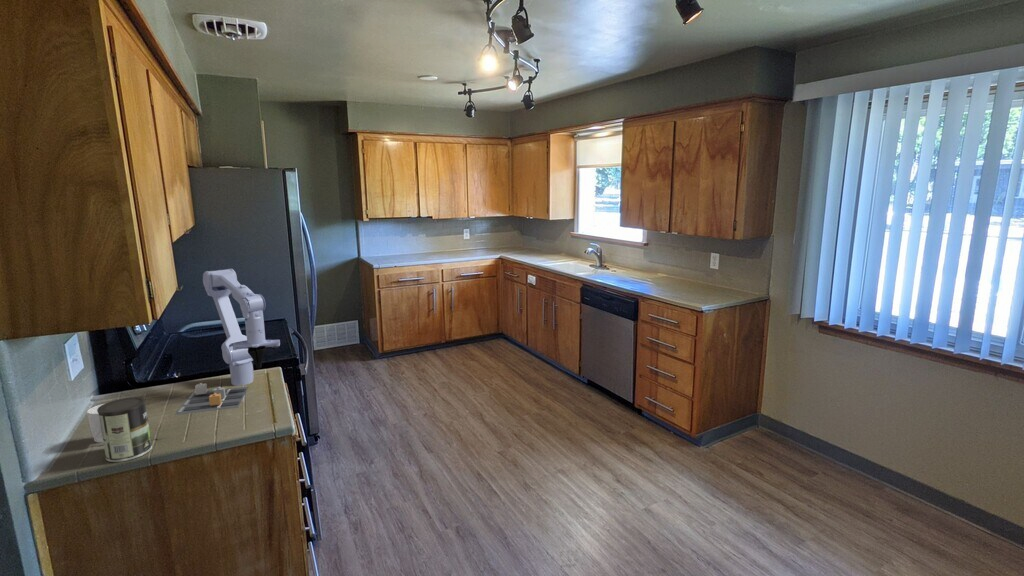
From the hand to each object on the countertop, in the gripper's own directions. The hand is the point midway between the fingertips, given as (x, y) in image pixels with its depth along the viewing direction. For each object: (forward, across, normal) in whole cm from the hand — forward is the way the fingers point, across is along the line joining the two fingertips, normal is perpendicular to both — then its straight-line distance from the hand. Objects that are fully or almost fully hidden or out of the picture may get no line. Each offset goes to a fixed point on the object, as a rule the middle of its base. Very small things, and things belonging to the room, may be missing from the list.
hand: (259, 367), depth 175 cm
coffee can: (+10, -28, -34) cm, 45 cm away
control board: (+10, -14, -4) cm, 18 cm away
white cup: (+10, -36, -24) cm, 44 cm away
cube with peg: (+9, -12, -4) cm, 15 cm away
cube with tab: (+9, -19, +2) cm, 21 cm away
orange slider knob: (+9, -12, -10) cm, 18 cm away
